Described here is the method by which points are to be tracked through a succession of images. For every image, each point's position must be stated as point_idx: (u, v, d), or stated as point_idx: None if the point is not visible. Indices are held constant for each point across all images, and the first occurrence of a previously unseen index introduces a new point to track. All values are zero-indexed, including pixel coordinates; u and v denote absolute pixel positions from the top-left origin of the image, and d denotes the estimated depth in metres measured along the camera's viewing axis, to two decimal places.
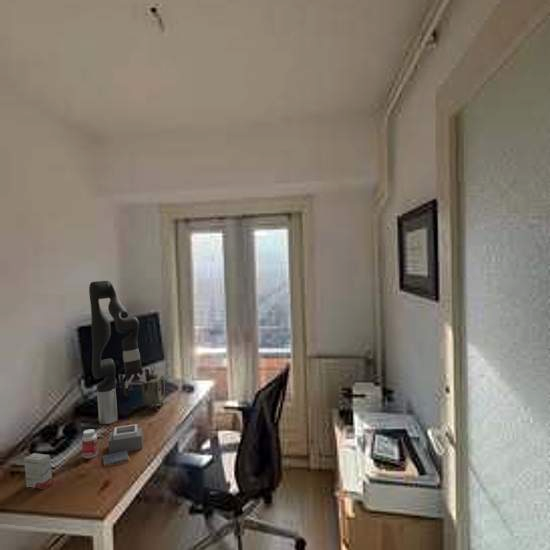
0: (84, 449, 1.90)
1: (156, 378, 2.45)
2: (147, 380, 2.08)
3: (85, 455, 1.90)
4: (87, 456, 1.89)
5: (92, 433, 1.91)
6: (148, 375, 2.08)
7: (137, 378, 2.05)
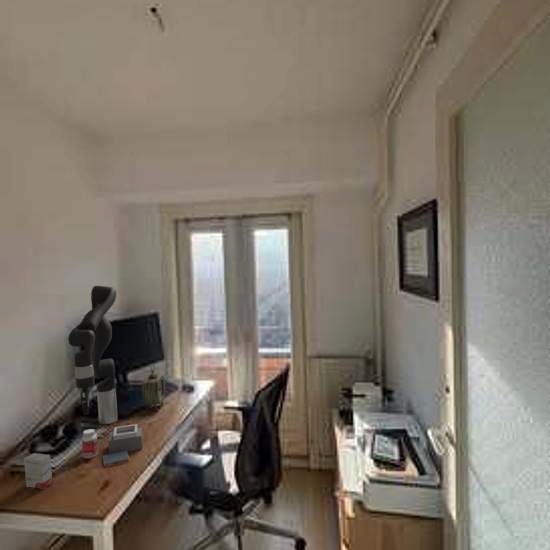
0: (84, 449, 1.90)
1: (156, 378, 2.45)
2: None
3: (85, 455, 1.90)
4: (87, 456, 1.89)
5: (92, 433, 1.91)
6: (81, 400, 1.85)
7: None
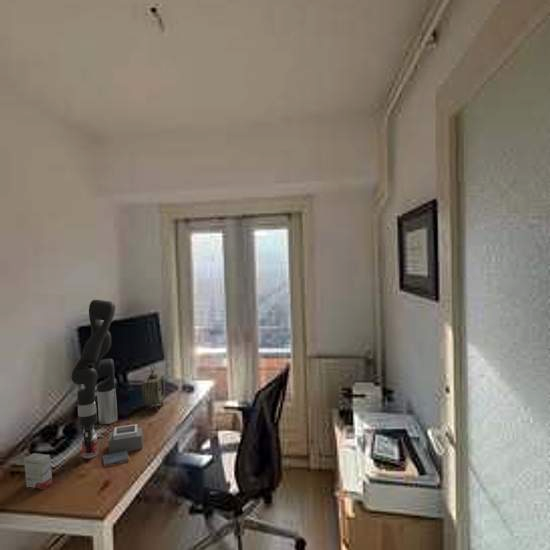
0: (84, 449, 1.90)
1: (156, 378, 2.45)
2: (86, 443, 1.87)
3: (85, 455, 1.90)
4: (87, 456, 1.89)
5: None
6: (84, 439, 1.86)
7: None
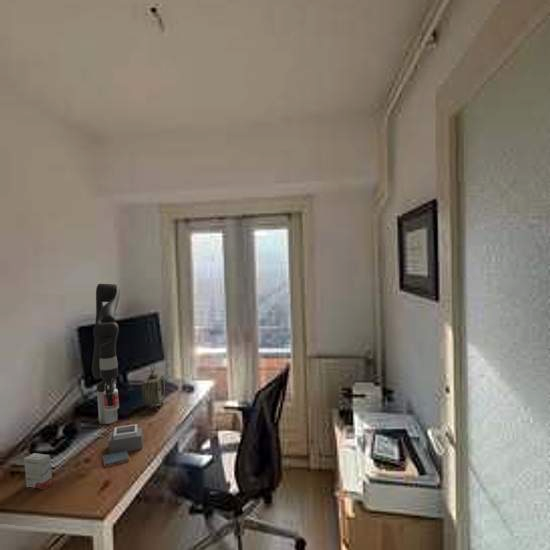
0: (105, 402, 1.93)
1: (156, 378, 2.45)
2: None
3: (106, 408, 1.93)
4: (108, 409, 1.93)
5: None
6: None
7: None
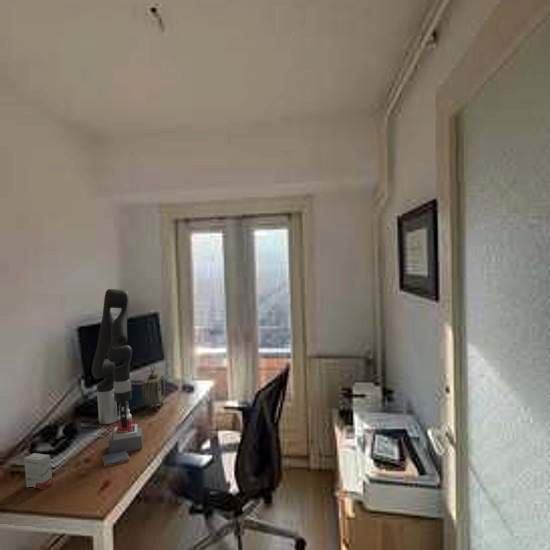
0: (120, 427, 1.96)
1: (156, 378, 2.45)
2: None
3: (121, 433, 1.96)
4: None
5: None
6: (120, 414, 1.92)
7: None
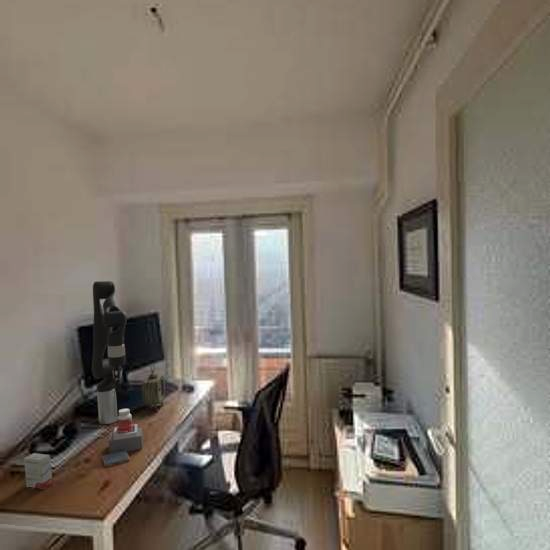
0: (120, 427, 1.96)
1: (156, 378, 2.45)
2: None
3: (121, 433, 1.96)
4: None
5: (127, 412, 1.98)
6: (113, 377, 1.94)
7: None
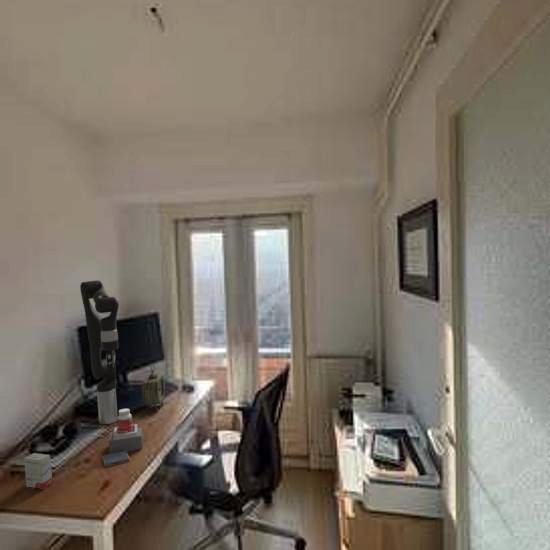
0: (120, 427, 1.96)
1: (156, 378, 2.45)
2: None
3: (121, 433, 1.96)
4: None
5: (127, 412, 1.98)
6: (107, 361, 2.00)
7: None
